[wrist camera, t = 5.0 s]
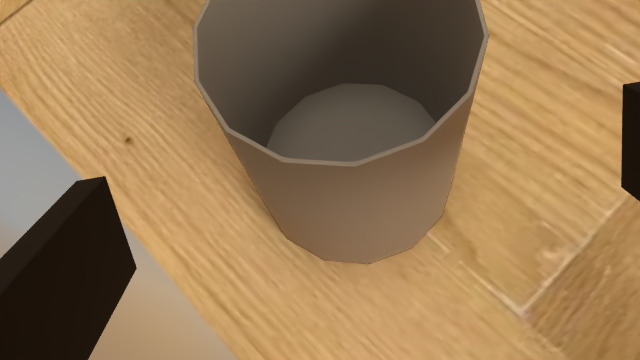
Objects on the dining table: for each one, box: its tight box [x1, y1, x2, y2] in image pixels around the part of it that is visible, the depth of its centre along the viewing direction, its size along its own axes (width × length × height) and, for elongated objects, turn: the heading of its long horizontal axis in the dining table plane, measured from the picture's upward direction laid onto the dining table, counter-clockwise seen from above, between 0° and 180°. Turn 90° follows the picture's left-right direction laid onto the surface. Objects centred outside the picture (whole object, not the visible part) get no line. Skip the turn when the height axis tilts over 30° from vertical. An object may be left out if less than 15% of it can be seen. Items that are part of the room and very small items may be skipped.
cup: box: [193, 0, 489, 264], centre depth 21 cm, size 8×8×10 cm
